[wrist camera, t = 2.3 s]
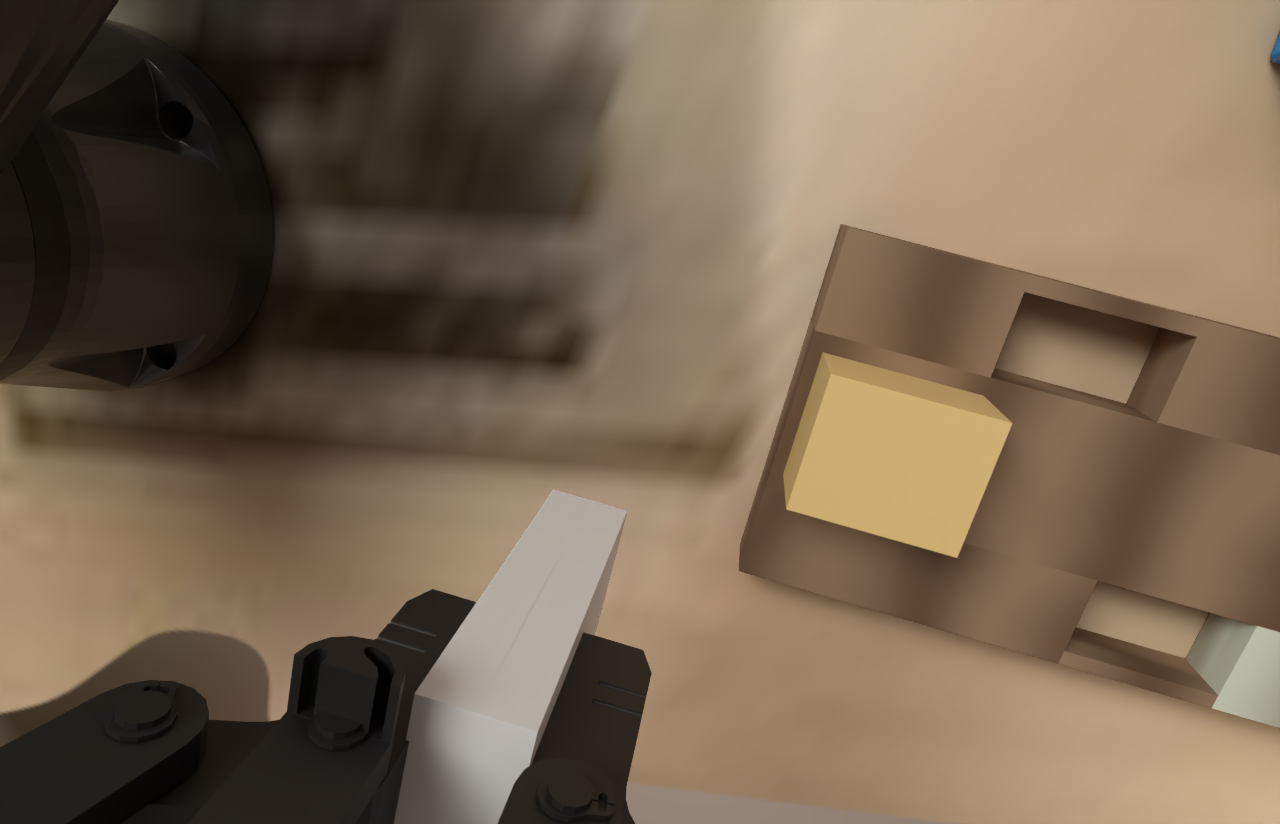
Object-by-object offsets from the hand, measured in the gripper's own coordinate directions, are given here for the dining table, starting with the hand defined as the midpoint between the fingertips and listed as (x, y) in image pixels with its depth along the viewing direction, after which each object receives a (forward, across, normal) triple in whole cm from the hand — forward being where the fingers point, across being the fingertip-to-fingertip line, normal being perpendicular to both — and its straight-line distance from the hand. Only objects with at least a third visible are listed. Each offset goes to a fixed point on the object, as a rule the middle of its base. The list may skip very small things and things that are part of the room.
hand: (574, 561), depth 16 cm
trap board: (+18, +17, 0) cm, 25 cm away
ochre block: (+16, +8, 0) cm, 18 cm away
